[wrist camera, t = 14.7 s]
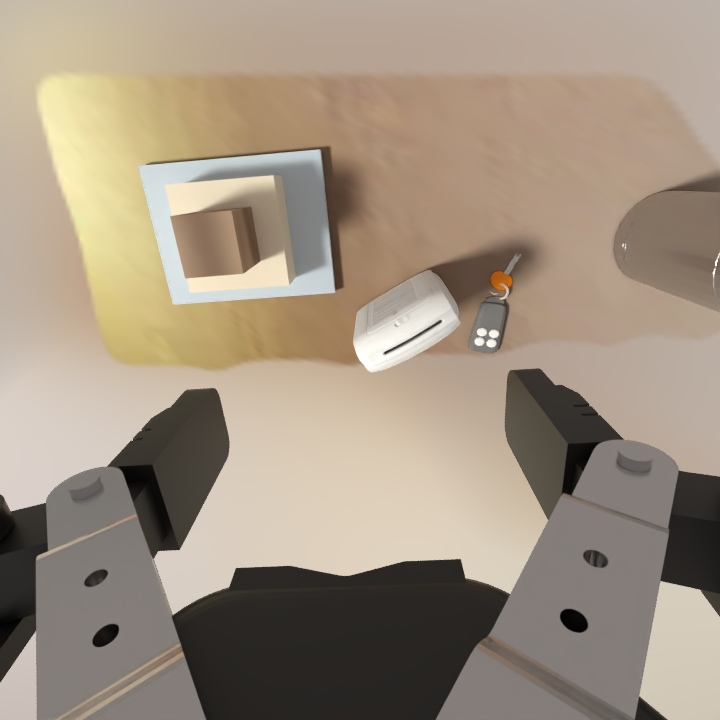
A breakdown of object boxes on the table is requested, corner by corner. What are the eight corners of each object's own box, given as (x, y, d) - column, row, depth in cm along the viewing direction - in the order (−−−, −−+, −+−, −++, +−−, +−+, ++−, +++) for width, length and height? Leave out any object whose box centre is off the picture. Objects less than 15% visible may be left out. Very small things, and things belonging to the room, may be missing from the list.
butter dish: (321, 150, 42) (315, 146, 37) (335, 290, 47) (331, 302, 43) (143, 166, 43) (115, 164, 38) (176, 302, 48) (156, 314, 44)
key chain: (496, 351, 50) (500, 355, 49) (465, 346, 50) (468, 351, 49) (528, 237, 45) (533, 239, 44) (494, 232, 45) (497, 234, 44)
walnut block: (251, 206, 39) (231, 210, 34) (260, 261, 41) (243, 273, 36) (198, 211, 40) (169, 216, 34) (209, 265, 42) (185, 278, 36)
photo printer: (370, 341, 50) (370, 389, 38) (350, 310, 48) (344, 351, 37) (450, 296, 47) (475, 332, 36) (431, 262, 46) (451, 289, 35)
